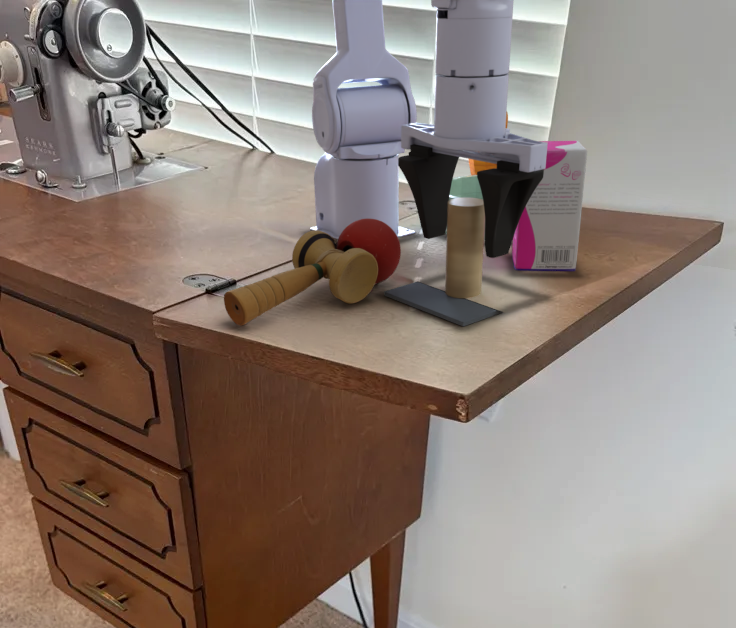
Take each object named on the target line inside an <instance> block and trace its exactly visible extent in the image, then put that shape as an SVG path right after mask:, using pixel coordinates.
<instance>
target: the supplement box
mask: <svg viewBox="0 0 736 628" xmlns="http://www.w3.org/2000/svg"><path fill="white" fill-rule="evenodd" d="M538 141H539V142H545V143H548V145H547V156H546V167H545V169H544V175H543V179H542V180H541V182H540V183H539V184H538V186H537V187H536V189H535V191H534V192H533V194H532V196H531V197H530V199H529V201H528V203H527V205H526V206H525V209H524V211H523V213H522V215H521V218H520V220H519V223H518V225H517V228H516V231H515V234H514V237H513V240H512V243H511V257H512V262H513V263H512V264H513V268H514V270H515V271H519V272H520V271H521V272H522V271H523V272H576V270H577V260H578V252H579V251H578V250H579V240H580V232H581V231H580V229H581V220H582V209H583V199H584V189H585V179H586V169H587V168H586V167H587V161H588V149H587V148H586V147H585V146H583V144H581V142H580V141H579V140H538Z"/></svg>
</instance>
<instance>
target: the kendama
mask: <svg viewBox="0 0 736 628" xmlns="http://www.w3.org/2000/svg"><path fill="white" fill-rule="evenodd" d="M401 256H402V248H401V243H400V238H398V237H397V235H396V233H395V232H394V231H393V229H392V228H391V227H389V226H388V225H387V224H385V223H384V222H382V221H379V220H376V219H367V218H366V219H360V220H357V221H355V222H353V223H351V224H350V225H348V226H347V227H346V228H345V229H344V230H343V231H342V233H341V234H340V236H339V238H338V239H337V241H336V243H335V240H334V238H332V237H331V236H330V235H329V234H327V233H325V232H322V231H319V230H313V231H312V230H309V231H307V232H304V233H303V234H302V235H301V236H300V237H299V239H297V242H296V243H295V244H294V247H293V250H292V255H291V262H292V265H293V269H289V270H286V271H283V272H280V273H277V274H274V275H272V276H269V277H266V278H263V279H261V280H257V281H255V282H252V283H249V284H247V285H244V286H240V287H237V288H234V289H230V290H228V291H226V292H225V293H224V295H223V303H224V308H225V311H226V313H227V315H228V316H229V318H230V319H231V320H232V322H234V324H236V325H237V326H240V327H241V326H245V325H246V324H248V323H250V322H252V321H253V320H254V319H256V318H257V317H259V316H261V315H263V314H265V313H266V312H268V311H271V310H272V309H273V308H276V307H278V306H279V305H281V304H283V303H285V302H287V301H289V300H290V299H293V298H294V297H296V296H297V295H299V294H301V293H302V292H304V291H305V290H307V289H308V288H310V287H311V286H312V285H314V284H315V283H317V282H318V281H319V280H321V279H323V278H324V279H327V280H328V285H329V290H330V292H331V294H332V295H333V297H335V298H336V299H338V300H340V301H342V302H344V303H345V304H356V303H359V302H361V301H362V300H364V299H365V298H366V297H367V296H368V295H369V294H370V293H371V292H372V290H373V288H374V286H375V285H377V284H380V283H382V282H385V281H386V280H388V279H389V278H390V277H391V276H392V275H393V274H394V273H395V271H396V270H397V269H398V266H399V264H400V260H401Z"/></svg>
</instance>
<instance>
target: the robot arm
mask: <svg viewBox="0 0 736 628" xmlns="http://www.w3.org/2000/svg"><path fill="white" fill-rule="evenodd" d="M331 1H332V12H333V20H334V35H335V47H336V52H335V53H334V54H333V56H332V57H331V58H329V60H328V61H327V62H325V64H324V65H322V66H321V67H320V68H319V70H318V71H317V72H316V74H315V75H314V77H313V80H312V81H313V82H312V96H313V97H312V99H313V100H312V107H311V122H312V129H313V130H312V131H313V134H314V138H315V140H316V143H317V144H318V146H319V147H320V148H321V149H322V150H323V152H324V153H323V154H322V155H321V156H320V158H319V159H318V161H317V163H316V165H315V168H314V173H313V174H314V175H313V187H314V208H315V209H314V210H315V225H316V226H312V227H310V228H309V231H313V230H319V231H322V232H325V233H327V234H329V235H330V236H331V237H332V238H333V239H336V240H338V238H339V236H340V234H341V233H342V231H343V230H344V229H345V228H346V227H347V226H348V225H350V224H351V223H353V222H355V221H357V220H360V219H366V218H367V219H376V220H379V221H382V222H384V223H385V224H387V225H388V226H389V227H391V228H392V229H393V231H394V232H395V233H396V235H397V237H398V239H400V238H403V237H407V236H411V235H414V234H416V231H415V230H412V229H409V228H406V227H403V226H399V221H400V220H399V219H400V218H399V214H400V212H399V210H400V209H399V207H400V206H399V205H400V202H399V201H400V199H399V198H400V195H399V194H400V193H399V192H400V188H399V184H400V183H399V182H400V180H399V178H400V177H399V176H400V174H399V172H400V171H401V173H402V174H403V176H404V178H405V180H406V182H407V184H408V186H409V189H410V191H411V194H412V196H413V199H414V203H415V207H416V210H417V214H418V218H419V223H420V227H421V231H422V236H423V238H424V239H427V240H430V239H434V238H439V237H442V236H445V235H446V233H445V232H446V227H447V209H448V201H449V196H450V189H451V184H452V180H453V178H454V175H455V171H456V167H457V164H458V162H459V159H460V158H462V159H468V160H469V159H473V160H478V161H484V162H489V163H494V164H497V169H496V168H493V169H488V170H483V171H478V172H477V178H478V181H479V185H480V188H481V192H482V197H483V203H484V211H485V240H484V250H485V256H486V257H487V258H490V259H495V258H499V257H502V256H506V255H509V252H510V249H511V247H512V244H513V237H514V234H515V231H516V228H517V225H518V223H519V220H520V218H521V215H522V213H523V211H524V209H525V206H526V205H527V203H528V201H529V199H530V197H531V196H532V194H533V192H534V191H535V189H536V187H537V186H538V184H539V183H540V182H541V180H542V179H543V175H544V169H545V167H546V156H547V145H548V143H545V142H539V141H540V140H534V139H530V138H528V137H524V136H520V135H518V134H514V133H512V132H511V129H510V128H508V127H507V128H505V127H506V112H507V113H508V109H507V108H508V94H509V81H510V80H509V77H510V66H511V65H510V64H511V50H512V49H511V47H512V31H513V14H514V2H515V1H514V0H430V4H431V7H432V8H434V9H436V22H435V23H436V25H435V26H436V29H435V32H436V33H435V35H436V36H435V69H434V70H435V74H434V75H435V76H434V114H433V115H434V116H433V117H434V118H433V120H434V121H433V123H431V124H430V123H424V122H418V121H417V120H418V113H417V112H418V111H417V103H416V100H415V98H414V97H415V96H414V95H413V90H412V87H411V78H410V73H409V72H410V71H409V69H408V67H406V65H404V64H403V62H401V61H400V60H398V59H397V58H396V57H395V56H394V55H393V54H392V53H390V52H389V51H388V50H387V48H386V36H385V34H386V33H385V23H384V8H383V6H384V5H383V0H331ZM369 82H371V83H372V82H373V83H378V84H379V85H363V86H362V85H361V86H348V87H340V86H341V85H342V84H355V83H369ZM405 150H410V151H408V155H402V156H400V155H399V154H405V153H406V151H405Z"/></svg>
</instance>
